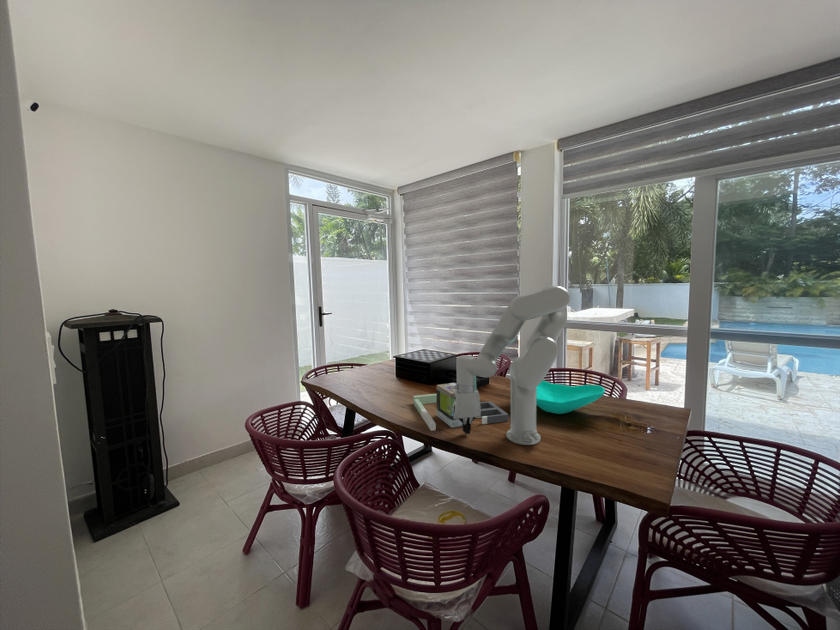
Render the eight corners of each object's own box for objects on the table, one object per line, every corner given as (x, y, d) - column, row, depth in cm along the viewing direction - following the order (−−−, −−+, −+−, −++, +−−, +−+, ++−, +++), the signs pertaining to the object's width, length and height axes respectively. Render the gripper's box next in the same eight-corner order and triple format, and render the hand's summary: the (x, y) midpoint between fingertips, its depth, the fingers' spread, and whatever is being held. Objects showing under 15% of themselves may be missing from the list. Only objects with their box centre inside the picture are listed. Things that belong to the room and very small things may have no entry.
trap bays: (508, 421, 145) (508, 414, 145) (487, 423, 143) (487, 416, 143) (491, 407, 162) (491, 401, 161) (471, 409, 159) (471, 403, 159)
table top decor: (607, 409, 156) (607, 381, 155) (601, 431, 133) (602, 399, 132) (522, 395, 178) (522, 371, 177) (504, 412, 155) (504, 384, 154)
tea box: (472, 424, 142) (471, 390, 141) (450, 428, 139) (450, 394, 137) (455, 412, 156) (455, 381, 155) (436, 415, 153) (435, 384, 151)
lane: (487, 423, 143) (487, 414, 142) (431, 430, 137) (430, 421, 136) (459, 398, 175) (459, 391, 174) (413, 403, 169) (413, 396, 168)
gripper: (451, 392, 125) (452, 439, 127) (488, 388, 129) (488, 434, 130) (445, 386, 132) (445, 431, 134) (480, 383, 136) (480, 426, 138)
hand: (466, 432), depth 132 cm, fingers closed
